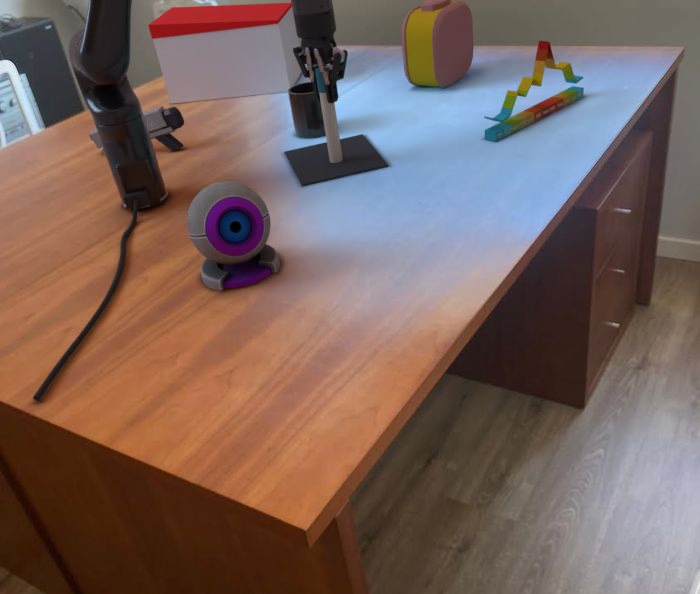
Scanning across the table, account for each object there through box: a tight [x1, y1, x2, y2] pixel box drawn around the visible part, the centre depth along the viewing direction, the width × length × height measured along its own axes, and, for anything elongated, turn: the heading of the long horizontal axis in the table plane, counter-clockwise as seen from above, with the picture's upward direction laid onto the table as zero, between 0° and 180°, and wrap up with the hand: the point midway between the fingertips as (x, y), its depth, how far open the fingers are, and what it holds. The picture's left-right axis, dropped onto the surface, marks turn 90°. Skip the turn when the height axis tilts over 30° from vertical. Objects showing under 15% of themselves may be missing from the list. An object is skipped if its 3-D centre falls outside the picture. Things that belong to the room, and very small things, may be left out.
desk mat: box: [284, 133, 389, 187], centre depth 153 cm, size 20×18×1 cm
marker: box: [315, 64, 343, 163], centre depth 146 cm, size 3×3×19 cm
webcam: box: [186, 180, 281, 291], centre depth 115 cm, size 13×13×15 cm
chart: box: [483, 40, 585, 142], centre depth 153 cm, size 30×3×15 cm, turn 131°
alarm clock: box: [400, 0, 474, 89], centre depth 181 cm, size 18×11×19 cm, turn 144°
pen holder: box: [287, 81, 326, 139], centre depth 166 cm, size 9×9×10 cm
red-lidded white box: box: [147, 2, 302, 105], centre depth 202 cm, size 21×35×21 cm, turn 83°
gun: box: [88, 105, 185, 155], centre depth 171 cm, size 2×25×10 cm, turn 77°
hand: (327, 100), depth 144 cm, fingers closed on marker, 3 cm apart
